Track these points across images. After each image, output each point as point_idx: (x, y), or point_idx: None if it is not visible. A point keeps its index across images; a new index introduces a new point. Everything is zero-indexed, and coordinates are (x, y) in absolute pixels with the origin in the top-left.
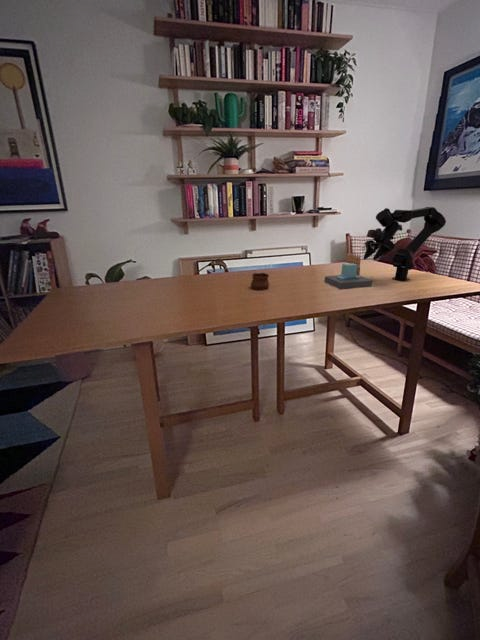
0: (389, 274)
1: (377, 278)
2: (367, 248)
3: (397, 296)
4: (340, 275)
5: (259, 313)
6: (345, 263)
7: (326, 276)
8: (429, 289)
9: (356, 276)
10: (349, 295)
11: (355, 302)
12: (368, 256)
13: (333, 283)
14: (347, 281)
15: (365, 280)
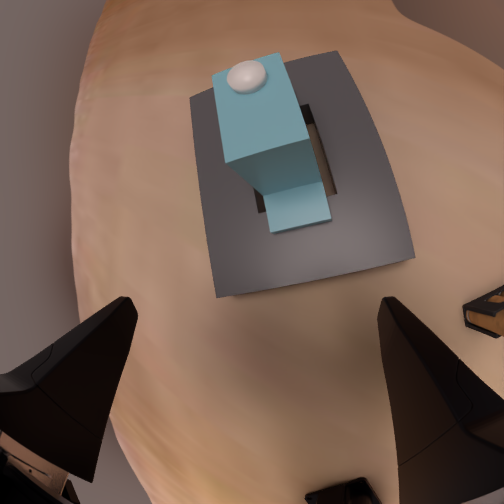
0: None
1: None
2: (484, 424)
3: None
4: (366, 130)
5: (115, 10)
6: (252, 61)
7: (331, 55)
8: (180, 484)
9: (280, 205)
10: (131, 137)
11: (86, 145)
12: (390, 381)
13: None
14: (211, 131)
15: (219, 247)
